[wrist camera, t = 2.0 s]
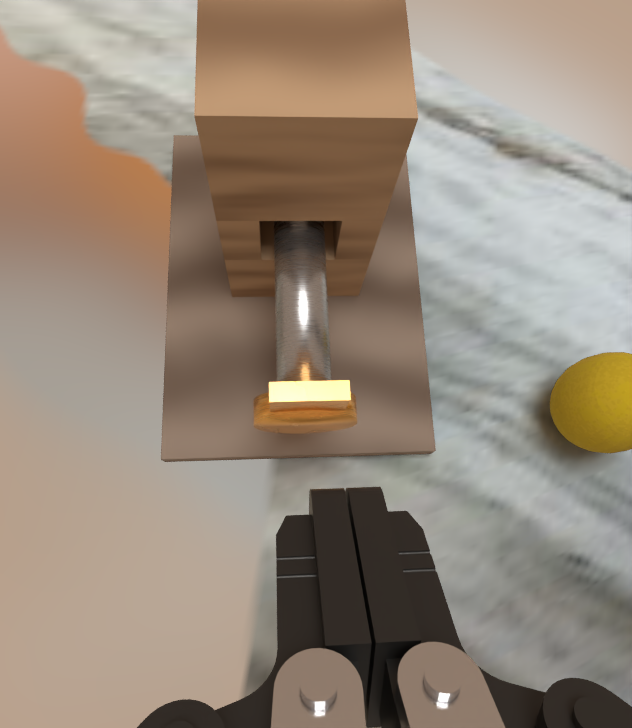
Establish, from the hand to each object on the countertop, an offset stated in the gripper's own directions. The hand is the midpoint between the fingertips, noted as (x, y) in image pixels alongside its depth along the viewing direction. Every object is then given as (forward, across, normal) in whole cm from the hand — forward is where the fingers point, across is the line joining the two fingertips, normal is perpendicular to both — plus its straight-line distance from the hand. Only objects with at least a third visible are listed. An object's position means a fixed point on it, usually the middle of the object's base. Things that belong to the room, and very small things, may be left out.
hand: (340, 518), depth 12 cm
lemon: (+20, -17, +11) cm, 28 cm away
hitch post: (+26, 0, +5) cm, 26 cm away
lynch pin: (+19, 0, +3) cm, 19 cm away
